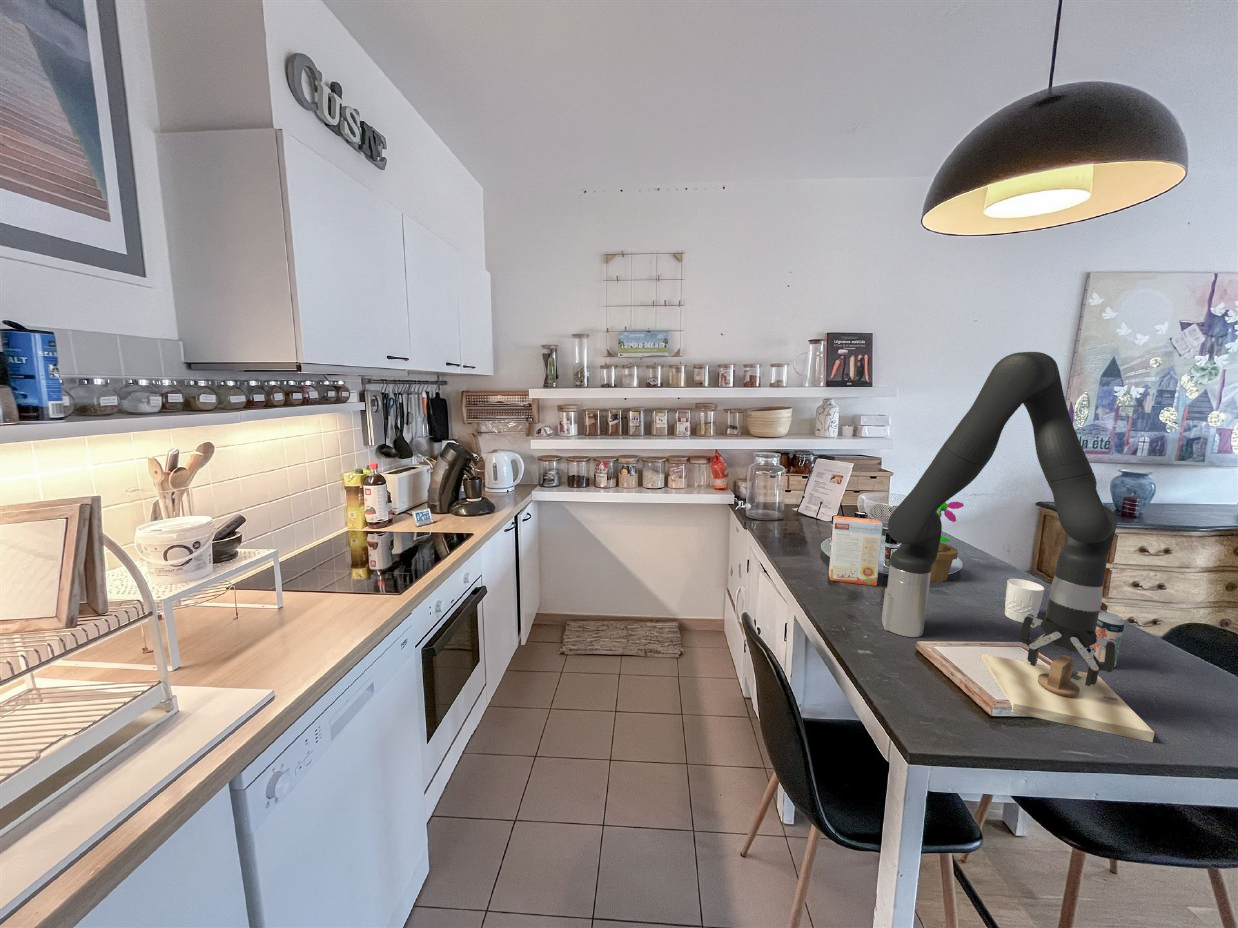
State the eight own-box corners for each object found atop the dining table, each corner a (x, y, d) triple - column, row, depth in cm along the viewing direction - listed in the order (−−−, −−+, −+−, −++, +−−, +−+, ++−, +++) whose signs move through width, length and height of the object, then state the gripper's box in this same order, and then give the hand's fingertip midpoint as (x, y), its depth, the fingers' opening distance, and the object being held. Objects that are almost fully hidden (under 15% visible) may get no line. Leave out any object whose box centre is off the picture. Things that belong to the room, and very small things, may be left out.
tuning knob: (1071, 700, 96) (1077, 673, 95) (1032, 683, 101) (1036, 656, 100) (1095, 682, 102) (1100, 656, 101) (1056, 667, 107) (1061, 642, 106)
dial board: (1012, 712, 96) (1014, 702, 95) (980, 661, 113) (982, 653, 113) (1152, 742, 88) (1154, 731, 88) (1095, 682, 106) (1097, 673, 105)
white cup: (1039, 617, 135) (1045, 584, 133) (1037, 628, 129) (1043, 593, 128) (1003, 608, 140) (1008, 576, 139) (1000, 617, 135) (1006, 584, 133)
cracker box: (873, 579, 160) (880, 518, 156) (876, 587, 154) (884, 524, 150) (827, 573, 164) (833, 514, 160) (829, 580, 158) (835, 519, 155)
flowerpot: (960, 576, 163) (972, 490, 158) (947, 588, 154) (959, 496, 149) (913, 564, 174) (923, 483, 169) (898, 574, 165) (908, 488, 160)
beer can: (1086, 654, 117) (1095, 608, 115) (1113, 662, 114) (1123, 615, 112) (1088, 663, 113) (1097, 616, 111) (1117, 671, 110) (1127, 622, 108)
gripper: (1024, 593, 100) (1012, 664, 103) (1122, 620, 89) (1105, 699, 92) (1033, 584, 105) (1021, 652, 108) (1127, 609, 94) (1111, 684, 97)
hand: (1060, 674), depth 100 cm, fingers open, 8 cm apart
